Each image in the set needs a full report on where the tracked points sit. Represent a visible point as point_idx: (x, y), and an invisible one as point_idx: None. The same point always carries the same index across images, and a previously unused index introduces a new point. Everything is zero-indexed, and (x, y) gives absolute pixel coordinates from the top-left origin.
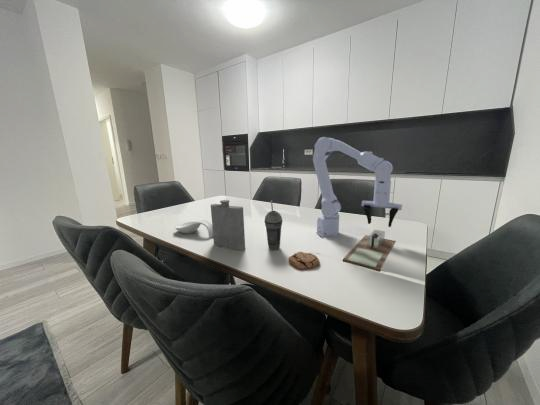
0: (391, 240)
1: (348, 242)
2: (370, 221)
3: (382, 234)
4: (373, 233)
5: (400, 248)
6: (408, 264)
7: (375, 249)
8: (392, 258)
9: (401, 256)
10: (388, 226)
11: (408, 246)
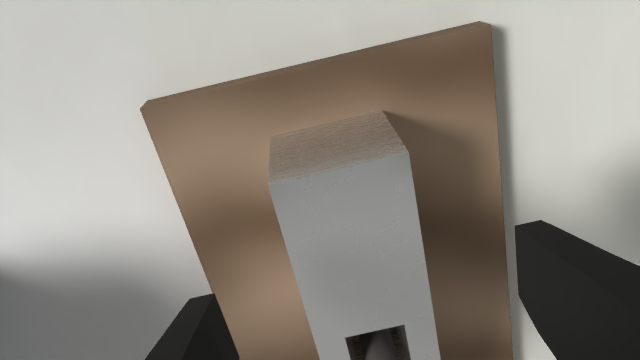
0: (446, 51)
1: (139, 333)
2: (223, 348)
3: (427, 281)
4: (334, 322)
5: (549, 128)
6: None
7: None
8: (534, 343)
9: None
10: (523, 301)
11: (611, 12)
